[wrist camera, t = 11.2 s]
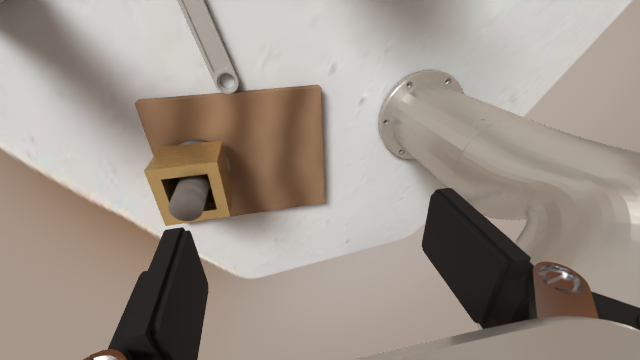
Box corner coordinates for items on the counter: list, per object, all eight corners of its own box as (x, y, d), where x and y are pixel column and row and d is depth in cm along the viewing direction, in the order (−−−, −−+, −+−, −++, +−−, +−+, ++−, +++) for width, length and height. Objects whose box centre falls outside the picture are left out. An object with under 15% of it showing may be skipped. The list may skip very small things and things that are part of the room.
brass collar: (222, 140, 35) (216, 162, 30) (233, 189, 38) (230, 216, 33) (160, 147, 34) (144, 170, 29) (177, 196, 37) (165, 225, 32)
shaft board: (318, 84, 36) (341, 109, 27) (322, 197, 45) (341, 245, 36) (139, 99, 33) (94, 133, 24) (180, 217, 42) (159, 276, 32)
